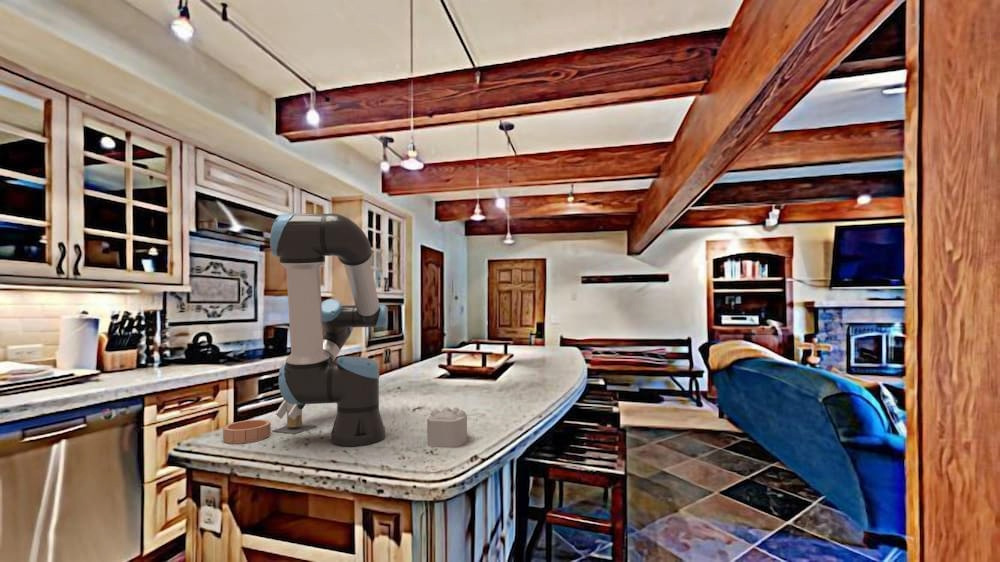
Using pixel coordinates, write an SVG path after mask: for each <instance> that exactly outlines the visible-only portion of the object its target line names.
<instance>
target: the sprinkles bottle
mask: <svg viewBox="0 0 1000 562" xmlns="http://www.w3.org/2000/svg"><path fill="white" fill-rule="evenodd" d="M293 406H294V404H290V403H287V412H286V426H287V427H298V426H301V425H302V424H303V416H302V415H303V409H301V410H300V412H299V414H298V415H297V417H296V418H295V420H293V419H292V418H291V417H290V416H289V415H288V414H289V412H290V411H291V409H292V408H293Z"/></svg>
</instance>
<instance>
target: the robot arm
mask: <svg viewBox="0 0 1000 562" xmlns="http://www.w3.org/2000/svg"><path fill="white" fill-rule="evenodd" d="M269 247H270V249H271V253H272V255H273V256H275V257H279V264H280V265H281V266H282V267H284V268H285V271H286V286H287V301H288V302H287V304H288V320H289V323H288V324H289V336H290V339H289V340H290V352H291V353H290V354H289V355H288V356H287V357H286V358H285V362H284V363H283V364H282V365H281V366H280V368H279V372H278V388H279V391H280V395H281V397H282V401H281V402H280V405H279V407H278V409H277V410H276V412H275V415H276V416H277V418H279V419H283V418H284V416H285V415H286V414H287V403H290V404H294V406H293V408H292V409H291V411H290V412H289V414H288V415H289V416H290V417H291V418H292V419H293V420H295V418H296V417H297V415H298V414H299V412H300V410H301V409H302V410H303V409H304V407H305V406H306V405H313V404H314V405H315V404H336V407H337V408H336V416H335V419H334V423H333V425H332V429H331V432H330V443H332V444H333V445H335V446H340V447H359V446H365V445H366V446H367V445H370V444H371V445H372V444H375V443H377V442H380V441H382V440H384V439H385V437H386V427H385V425H384V422H383V418H382V415H381V412H380V372H379V370H380V369H379V364H378V363H379V362H377V361H376V360H374V359H373V358H370V357H369V358H368V357H362V356H350V355H349V356H345V355H344V356H343V355H342V356H339V357H337V356H338V355H339V354H340V352H341V350H342V348H343V346H344V345H345V344H346V343H347V341H348V339H349V338H350V336H351V334H352V332H353V330H354V328H381V327H383V328H384V327H385V326H387V324H388V320H389V319H388V318H389V315H388V314H389V313H388V307H387V306H386V305H385V304H380V301H379V298H378V297H379V296H378V291H377V287H376V283H375V279H374V273H373V268H372V264H371V257H372V255H373V254H372V253H373V252H372V246H371V243H370V240H369V238H368V237H367V234H366V233H365V232H364V231H363V230H362V228H361V227H360V226H359V225H358V224H357V223H356V222H354V221H353V220H351V219H350V218H349V217H347V216H345V215H342V214H338V213H330V212H329V213H300V212H298V213H297V212H293V213H282V214H280V215H278V216H277V217H276V218H275V220H274V222H273V224H272V226H271V231H270V236H269ZM327 256H329V257H331V256H334V257H337V258H338V262H340V263H341V264H342V265H343V267H344V269H345V274H346V277H347V281H348V284H349V287H350V291H351V294H352V298H353V301H354V304H355V305H352V304H351V305H342V303H341V302H340V301H339V300H337V299H335V298H328V299H326V300H324V301H322V292H321V291H322V290H321V267H322V266H323V265H324V263H325V262H326V257H327ZM323 332H324V333H323ZM336 358H337V359H336ZM335 360H336V361H335Z"/></svg>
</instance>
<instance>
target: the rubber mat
mask: <svg viewBox="0 0 1000 562" xmlns="http://www.w3.org/2000/svg"><path fill="white" fill-rule="evenodd" d="M315 426H316V425H312V424H304V423H302V425H301V426H298V427H287V425H285V426H282V427H279V428H276V429H271V432H272V431H273V433H279V432H283V433H282V434H287V433H292V434H291V435H296V434H295V433H297V434H300V433H302V432H305V431H308V430H310V429H309V428H311V429H313V428H312V427H314V428H316V427H315ZM307 429H308V430H307ZM304 430H305V431H304ZM301 431H302V432H301ZM284 432H285V433H284ZM299 432H300V433H299Z"/></svg>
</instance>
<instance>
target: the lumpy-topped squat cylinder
mask: <svg viewBox="0 0 1000 562" xmlns="http://www.w3.org/2000/svg"><path fill="white" fill-rule="evenodd" d="M426 420H427V421H426V424H427V426H426V428H427V430H426V431H427V432H426V436H427V437H426V438H427V441H426V442H427V444H426V445H427V446H428V447H431V448H447V449H448V448H449V449H450V448H458V447H462V446H463V445H465V443H466V442H467V440H468V414H467V413H466V412H465V411H464V410H463V409H459V407H453V408H452V409H451V408H450V407H447V406H445V407H444V408H443V409H442V410H439V409H433V410H432V411H431V413H430V415H429V416H428V417H427V419H426Z"/></svg>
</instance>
